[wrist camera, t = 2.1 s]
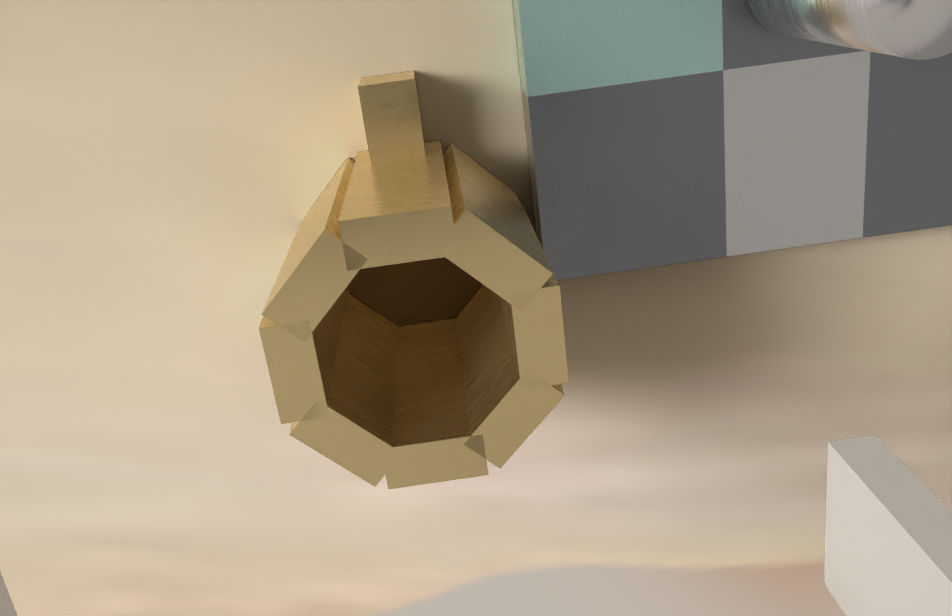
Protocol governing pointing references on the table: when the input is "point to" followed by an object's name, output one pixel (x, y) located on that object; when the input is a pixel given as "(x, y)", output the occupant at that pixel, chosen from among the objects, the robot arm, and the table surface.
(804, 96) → the post base
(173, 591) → the table surface
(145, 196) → the table surface
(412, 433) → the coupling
